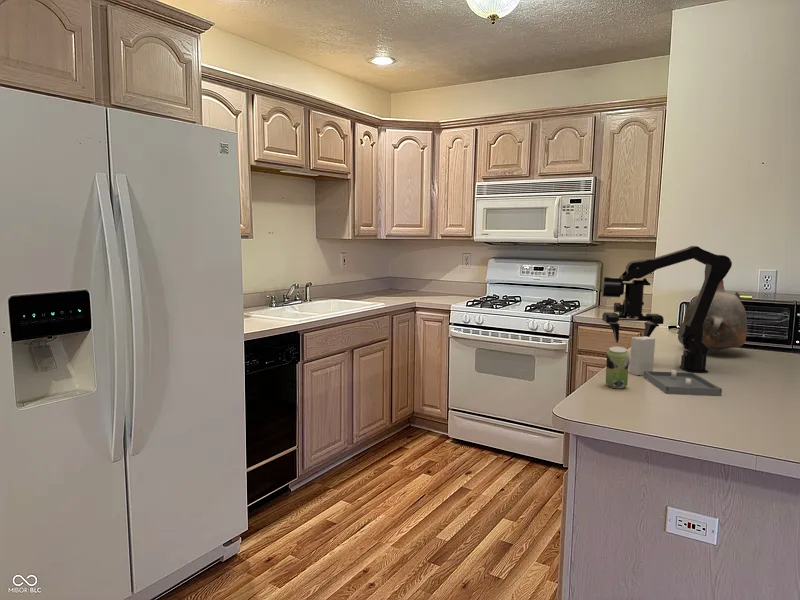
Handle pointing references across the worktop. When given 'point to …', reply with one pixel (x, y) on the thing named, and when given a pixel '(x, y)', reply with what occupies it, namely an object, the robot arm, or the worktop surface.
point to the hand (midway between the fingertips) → (630, 342)
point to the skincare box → (641, 355)
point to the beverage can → (617, 367)
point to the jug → (722, 321)
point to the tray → (682, 383)
